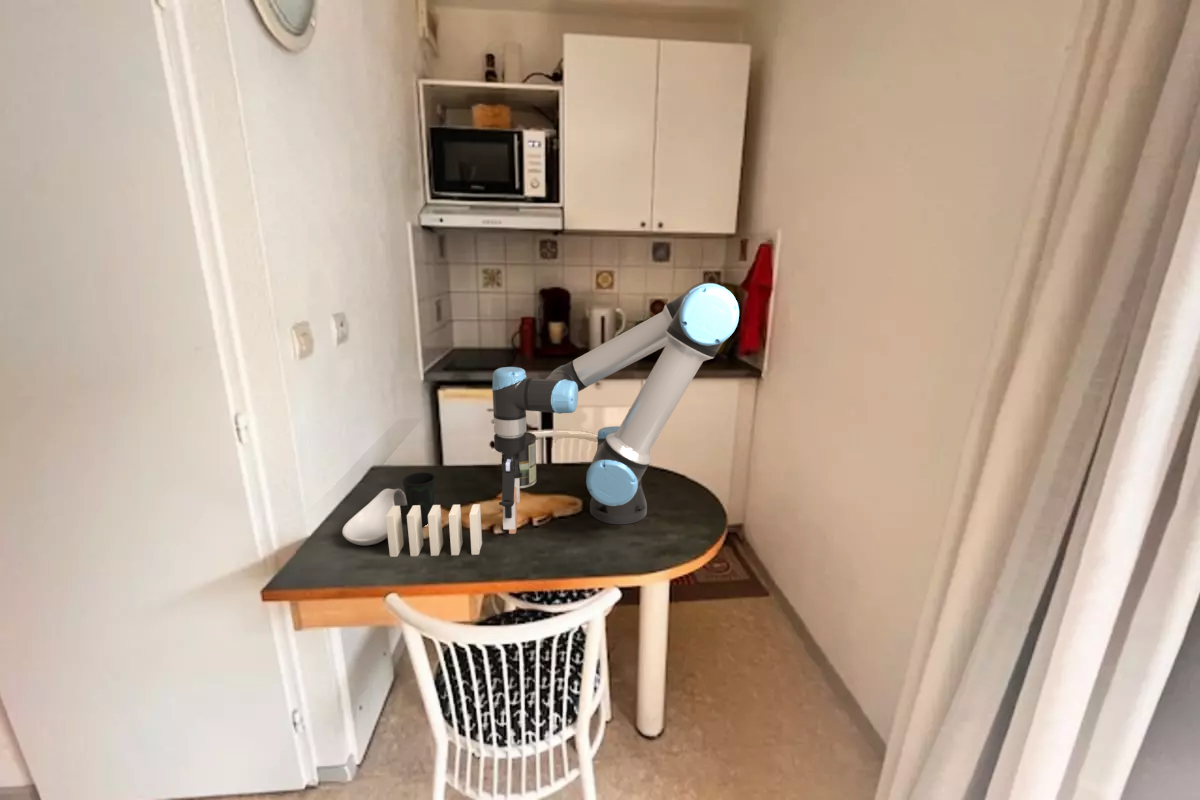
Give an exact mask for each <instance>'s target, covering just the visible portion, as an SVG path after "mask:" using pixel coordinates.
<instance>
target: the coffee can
mask: <svg viewBox="0 0 1200 800" xmlns="http://www.w3.org/2000/svg"><path fill="white" fill-rule="evenodd" d="M525 434H526V449H525V450H523V451H521V452H518V454H520V460H519V467H520V472H519V473H522V477H517V478H519V480H520V489H526V488H529V487H532V486H534V485H535V484H536V483H537V435H535V434H534V433H533V432H528V431H526V432H525ZM502 458H503V453H501V459H502Z"/></svg>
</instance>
